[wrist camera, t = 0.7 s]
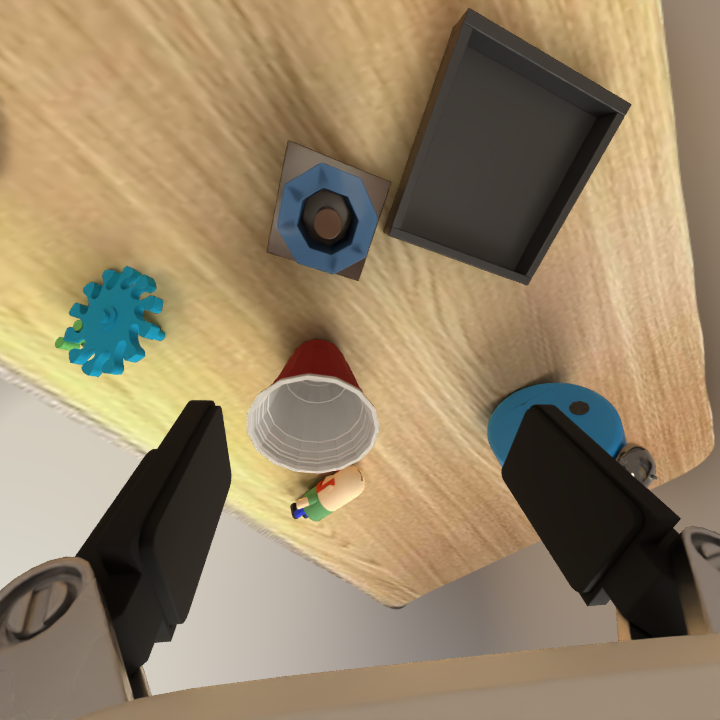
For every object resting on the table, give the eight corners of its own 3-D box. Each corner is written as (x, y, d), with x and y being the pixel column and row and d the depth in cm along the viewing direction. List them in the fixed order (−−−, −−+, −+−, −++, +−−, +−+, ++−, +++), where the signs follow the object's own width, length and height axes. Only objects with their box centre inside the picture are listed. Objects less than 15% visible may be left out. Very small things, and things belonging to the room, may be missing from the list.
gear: (146, 246, 26) (150, 355, 24) (198, 278, 32) (206, 369, 29) (50, 287, 28) (43, 391, 26) (114, 310, 34) (114, 398, 31)
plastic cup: (248, 366, 35) (215, 440, 24) (311, 297, 32) (304, 348, 21) (321, 415, 39) (320, 496, 28) (382, 359, 36) (406, 426, 25)
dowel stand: (289, 141, 25) (276, 122, 19) (389, 182, 27) (410, 178, 21) (268, 250, 29) (251, 266, 22) (357, 278, 31) (366, 301, 25)
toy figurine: (315, 498, 49) (371, 460, 45) (322, 527, 46) (383, 490, 43) (274, 498, 43) (335, 454, 39) (281, 532, 40) (347, 488, 37)
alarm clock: (484, 440, 44) (552, 545, 31) (467, 413, 41) (535, 515, 28) (571, 395, 42) (685, 487, 29) (560, 363, 39) (681, 449, 26)
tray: (453, 26, 23) (468, 6, 21) (604, 112, 27) (632, 104, 24) (383, 232, 29) (388, 235, 27) (512, 279, 33) (527, 285, 31)
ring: (297, 158, 25) (291, 150, 20) (376, 190, 27) (388, 189, 22) (279, 244, 28) (270, 255, 23) (352, 268, 30) (357, 282, 25)
